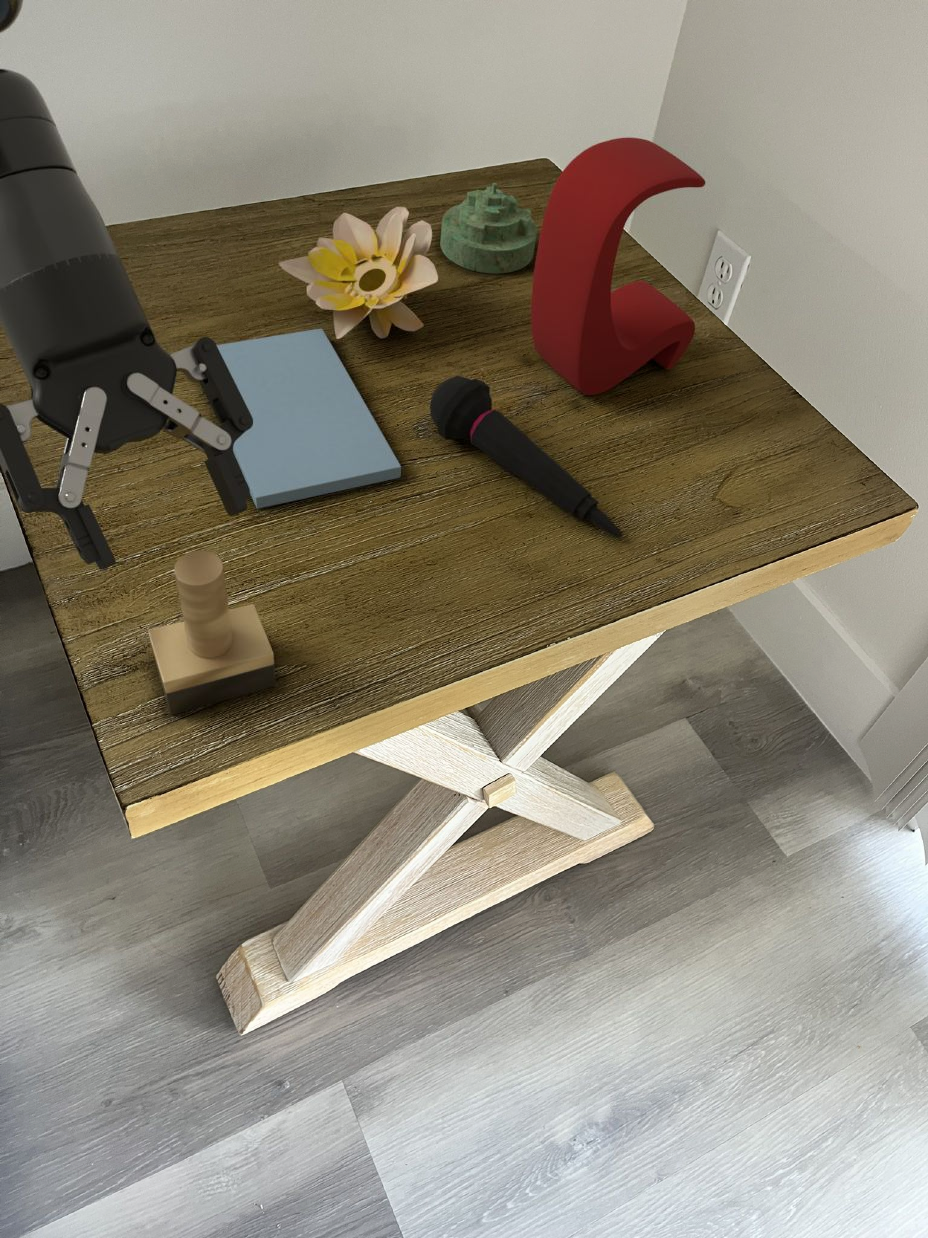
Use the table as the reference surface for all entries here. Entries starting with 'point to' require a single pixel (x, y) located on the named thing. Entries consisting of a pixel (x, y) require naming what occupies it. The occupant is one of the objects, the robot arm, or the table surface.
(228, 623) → the wooden stamp
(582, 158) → the red curved piece
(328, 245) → the decorative flower
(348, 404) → the mat
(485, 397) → the microphone
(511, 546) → the table surface
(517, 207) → the decorative artifact
